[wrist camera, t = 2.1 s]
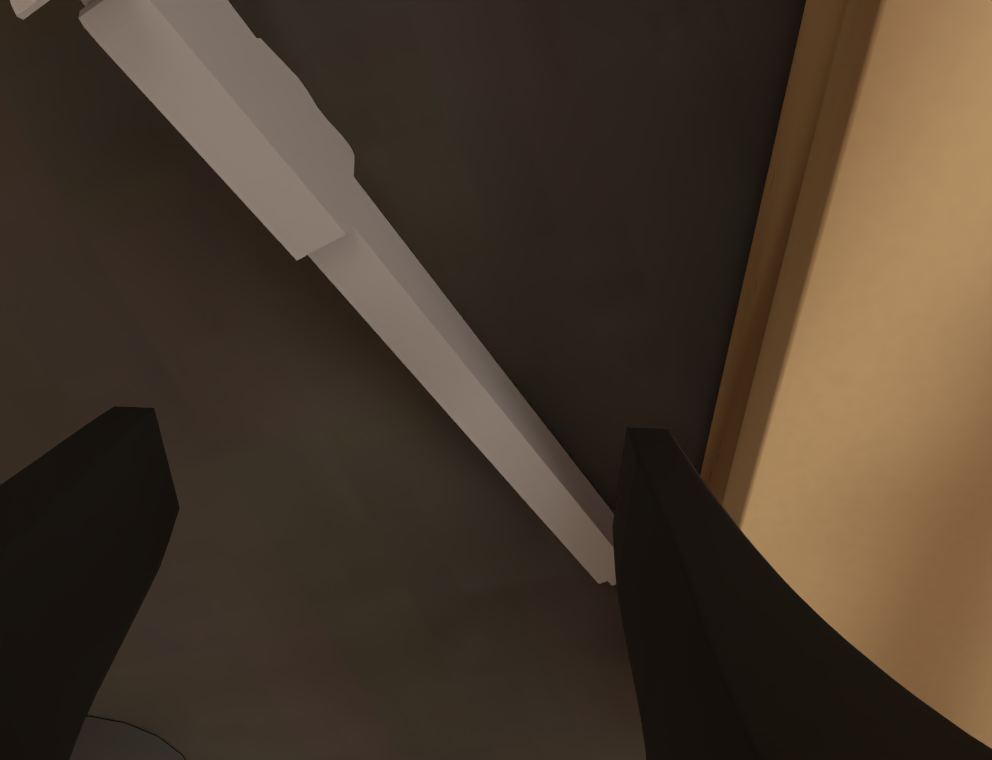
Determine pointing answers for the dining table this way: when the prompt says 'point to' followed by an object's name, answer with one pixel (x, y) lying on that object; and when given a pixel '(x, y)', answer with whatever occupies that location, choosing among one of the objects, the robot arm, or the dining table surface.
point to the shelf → (875, 345)
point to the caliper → (339, 233)
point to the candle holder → (119, 743)
